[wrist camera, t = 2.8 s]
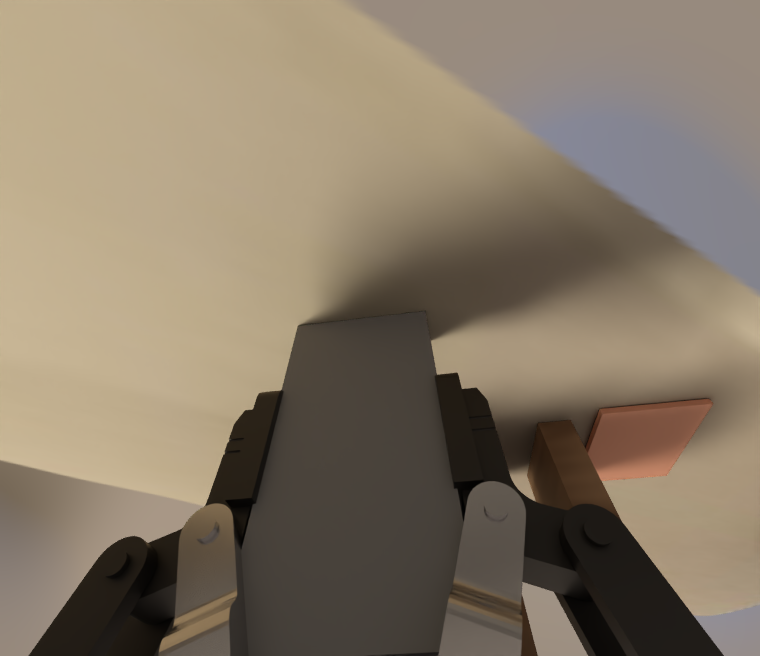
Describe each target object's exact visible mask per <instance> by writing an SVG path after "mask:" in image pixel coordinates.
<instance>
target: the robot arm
mask: <svg viewBox="0 0 760 656" xmlns="http://www.w3.org/2000/svg"><path fill="white" fill-rule="evenodd" d="M435 381H436V387H437V393H438V399H439V404H440V410H441V416H442V422H443V428H444V433H445V439H446V445H447V451H448V457H449V462H450V468H451V474H452V480H453V486H454V489H457V490H458V495H459V501H460V506H461V512H462V517H463V523H464V524H463V529H462V535H461V541H460V547H459V553H458V558H457V564H456V570H455V576H454V581H453V585H452V588H451V591H450V595H449V600H448V604H447V610H446V615H445V621H444V627H443V633H442V638H441V644H440V650H439V655H438V656H521V646H522V611H521V598H522V582H525V583H528V584H531V585H534V586H538V587H541V588H544V589H547V590H550V591H553V592H554V593H555V595H556V596H557V598H558V600H559V602H560V604H561V606H562V608H563V609H564V611H565V613H566V615H567V617H568V619H569V621H570V623H571V624H572V626H573V628H574V630H575V632H576V634H577V635H578V637H579V639H580V641H581V643H582V645H583V647H584V649H585V650H586V652H587V654H588V656H724V655H723V654H722V653H721V651H720V650H719V649H718V648H717V646H716V645H715V644H714V642H713V641H712V640H711V638H710V637H709V636H708V634H707V633H706V632H705V630H704V629H703V628H702V627H701V625H700V624H699V623H698V621H697V620H696V618H695V617H694V616H693V615H692V613H691V612H690V611H689V609H688V608H687V607H686V605H685V604H684V603H683V601H682V600H681V599H680V597H679V596H678V595H677V593H676V592H675V591H674V590H673V588H672V587H671V586H670V584H669V583H668V582H667V580H666V579H665V578H664V576H663V575H662V574H661V572H660V571H659V570H658V568H657V567H656V566H655V565H654V563H653V562H652V561H651V559H650V558H649V557H648V555H647V554H646V553H645V551H644V550H643V549H642V547H641V546H640V545H639V543H638V542H637V541H636V539H635V538H634V537H633V536H632V534H631V533H630V532H629V530H628V529H627V528H626V526H625V525H624V524H623V523H622V521H621V520H620V519H619V518H618V517H617V516H615V515H614V514H613V513H611V512H610V511H608V510H607V509H605V508H603V507H600V506H598V505H594V504H579V505H576V506H574V507H572V508H571V509H569V510H564V509H560V508H556V507H552V506H548V505H544V504H541V503H537V502H535V501H533V500H531V499H529V498H528V497H526V496H525V495H524V494H522V493H521V492H520V491H519V490H518V489H517V487H516V486H515V485H514V483H513V481H512V479H511V477H510V474H509V471H508V467H507V464H506V461H505V457H504V454H503V451H502V447H501V444H500V441H499V438H498V434H497V431H496V429H495V424H494V421H493V418H492V414H491V411H490V408H489V404H488V401H487V399H486V398H485V397H484V396H483V395H482V394H481V392H480V391H479V390H478V389H477V388H469V389H462V388H461V384H460V380H459V376H458V373H450V374H440V375H435ZM283 392H284V391H282V390H281V391H272V392H262V393H259V394H258V396H257V399H256V402H255V405H254V408H253V410H245V411H244V412H243V414H242V415H241V416H240V417H239V419H238V420H237V421H236V423H235V424H234V426H233V429H232V432H231V435H230V438H229V442H228V443H227V446H226V449H225V455H223V458H222V461H221V463H220V466H219V469H218V472H217V475H216V478H215V481H214V483H213V486H212V489H211V492H210V495H209V498H208V500H207V503H206V505H205V506H204V507H203V508H201V509H200V510H198V511H197V512H195V513H194V514H193V515H192V516H191V517H190V518H189V519H188V521H187V522H186V524H185V525H184V527H183V528H182V529H180V530H178V531H176V532H174V533H171V534H169V535H166V536H164V537H162V538H159V539H157V540H154V541H152V542H150V543H147V542H146V541H144V540H143V539H142V538H140V537H136V536H131V537H126V538H123V539H121V540H119V541H117V542H115V543H114V544H113V545H111V546H110V547H109V548H107V549H106V550H105V551H104V552H103V554H102V555H100V557H99V558H98V559H97V561H96V562H95V564H94V565H93V566H92V568H91V569H90V570H89V572H88V573H87V575H86V576H85V577H84V579H83V580H82V582H81V583H80V584H79V586H78V587H77V589H76V590H75V592H74V593H73V594H72V596H71V597H70V598H69V600H68V601H67V603H66V604H65V606H64V607H63V608H62V610H61V611H60V612H59V614H58V615H57V617H56V618H55V619H54V621H53V622H52V624H51V625H50V627H49V628H48V629H47V631H46V632H45V634H44V635H43V636H42V638H41V639H40V641H39V642H38V643H37V645H36V646H35V648H34V649H33V650H32V652H31V653H30V655H29V656H249V653H248V639H247V625H246V611H245V597H244V583H243V569H242V555H241V549H242V545H243V541H244V537H245V534H246V530H247V526H248V522H249V518H250V514H251V510H252V506H253V504H256V501H257V497H258V493H259V489H260V485H261V481H262V477H263V473H264V469H265V465H266V461H267V457H268V453H269V449H270V445H271V441H272V437H273V432H274V428H275V424H276V420H277V416H278V412H279V408H280V404H281V400H282V396H283Z"/></svg>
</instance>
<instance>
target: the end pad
mask: <svg viewBox="0 0 760 656" xmlns="http://www.w3.org/2000/svg"><path fill="white" fill-rule="evenodd" d="M712 405H713V403H712V402H711V400H710V399H701V400H690V401H679V402H669V403H658V404H648V405H637V406H626V407H616V408H605V409H599V412H598V415H597V418H596V420H595V423H594V426H593V429H592V432H591V434H590V437H589V440H588V443H587V445H586V448H585V449H586V451H587V453H588V455H589V457H590V459H591V461H592V463H593V465H594V467H595V469H596V471H597V473H598V475H599V477H600V479H601V481H606V480H618V479H631V478H643V477H656V476H667V474H668V473H669V471H670V470H671V468H672V467H673V465H674V464H675V462H676V461H677V459H678V457H679V456H680V454H681V453H682V451H683V450H684V448H685V447H686V445H687V444H688V442H689V441H690V439H691V437H692V436H693V434H694V433H695V431H696V430H697V428H698V427H699V425H700V424H701V422H702V420H703V419H704V417H705V416H706V414H707V413H708V411H709V410H710V408H711V407H712Z"/></svg>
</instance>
